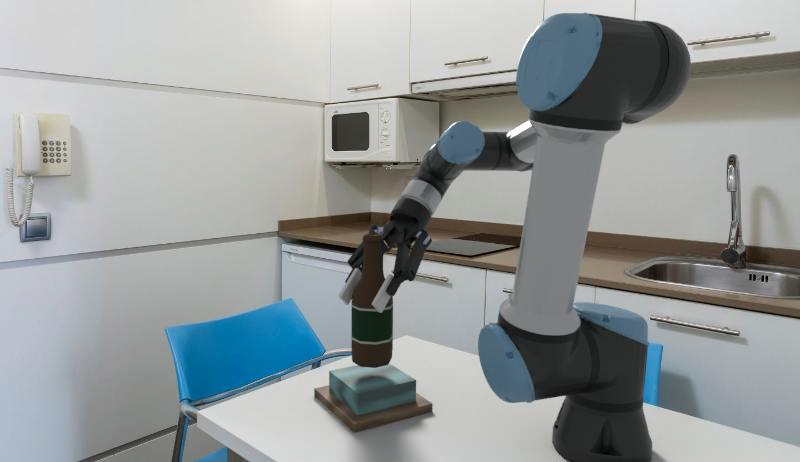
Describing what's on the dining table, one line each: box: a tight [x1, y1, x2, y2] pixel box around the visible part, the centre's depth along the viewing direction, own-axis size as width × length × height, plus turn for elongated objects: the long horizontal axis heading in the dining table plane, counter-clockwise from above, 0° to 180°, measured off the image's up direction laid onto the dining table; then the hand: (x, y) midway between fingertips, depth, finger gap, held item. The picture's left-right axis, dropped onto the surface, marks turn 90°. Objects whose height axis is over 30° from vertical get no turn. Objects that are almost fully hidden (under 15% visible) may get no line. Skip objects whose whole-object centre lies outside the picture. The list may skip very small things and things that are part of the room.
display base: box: [313, 362, 434, 433], centre depth 107 cm, size 17×16×6 cm
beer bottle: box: [351, 232, 394, 368], centre depth 105 cm, size 8×8×24 cm
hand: (359, 304), depth 102 cm, fingers closed on beer bottle, 7 cm apart
